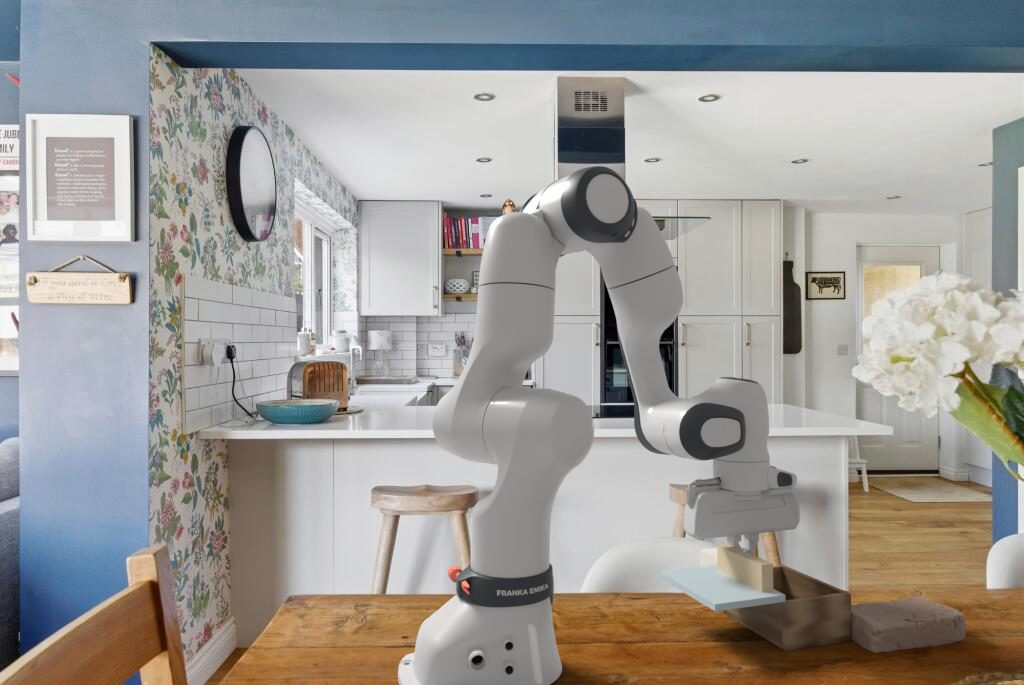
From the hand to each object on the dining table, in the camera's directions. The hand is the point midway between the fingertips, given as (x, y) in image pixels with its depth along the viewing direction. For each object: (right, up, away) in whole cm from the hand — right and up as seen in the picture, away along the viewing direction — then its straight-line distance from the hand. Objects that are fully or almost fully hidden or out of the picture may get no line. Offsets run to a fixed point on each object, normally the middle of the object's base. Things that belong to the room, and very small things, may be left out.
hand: (742, 560), depth 109 cm
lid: (-6, -2, -6) cm, 9 cm away
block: (0, -10, +10) cm, 14 cm away
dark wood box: (+6, -10, -3) cm, 12 cm away
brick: (+22, -10, -7) cm, 25 cm away
